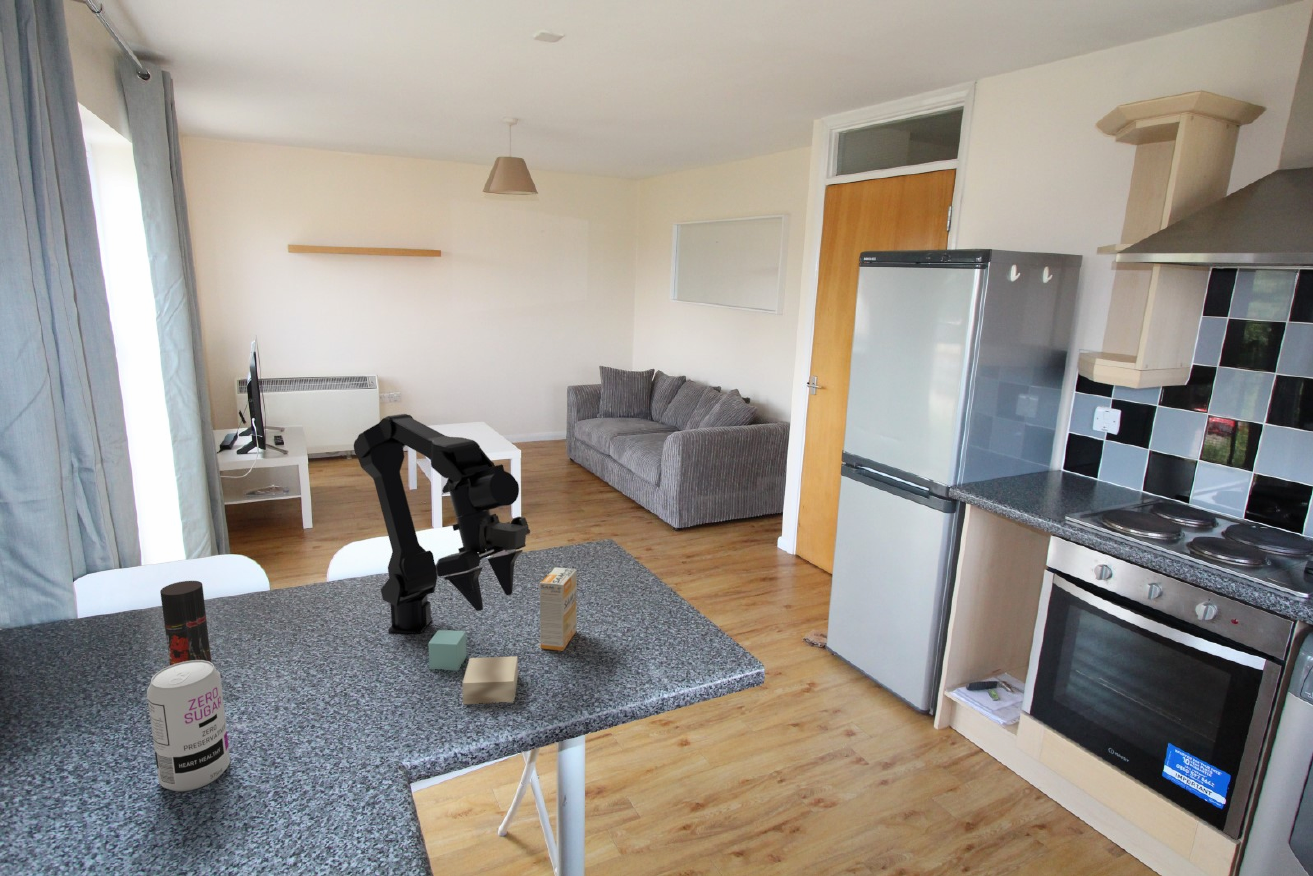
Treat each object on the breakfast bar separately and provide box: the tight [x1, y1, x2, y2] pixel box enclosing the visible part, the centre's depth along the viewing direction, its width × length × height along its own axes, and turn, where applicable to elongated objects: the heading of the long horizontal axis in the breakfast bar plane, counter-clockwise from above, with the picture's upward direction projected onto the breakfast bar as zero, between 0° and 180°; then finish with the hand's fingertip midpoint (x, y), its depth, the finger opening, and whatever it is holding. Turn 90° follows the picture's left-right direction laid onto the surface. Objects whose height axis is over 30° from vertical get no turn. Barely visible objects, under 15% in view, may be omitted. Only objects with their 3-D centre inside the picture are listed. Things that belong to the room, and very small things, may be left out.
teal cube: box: [427, 629, 468, 671], centre depth 128 cm, size 5×5×5 cm
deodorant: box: [160, 580, 212, 666], centre depth 123 cm, size 6×6×15 cm
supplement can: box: [146, 660, 231, 792], centre depth 97 cm, size 8×8×15 cm
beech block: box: [461, 655, 519, 705], centre depth 119 cm, size 8×8×4 cm
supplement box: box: [539, 567, 578, 652], centre depth 136 cm, size 8×5×13 cm, turn 168°
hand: (495, 602), depth 123 cm, fingers open, 9 cm apart
